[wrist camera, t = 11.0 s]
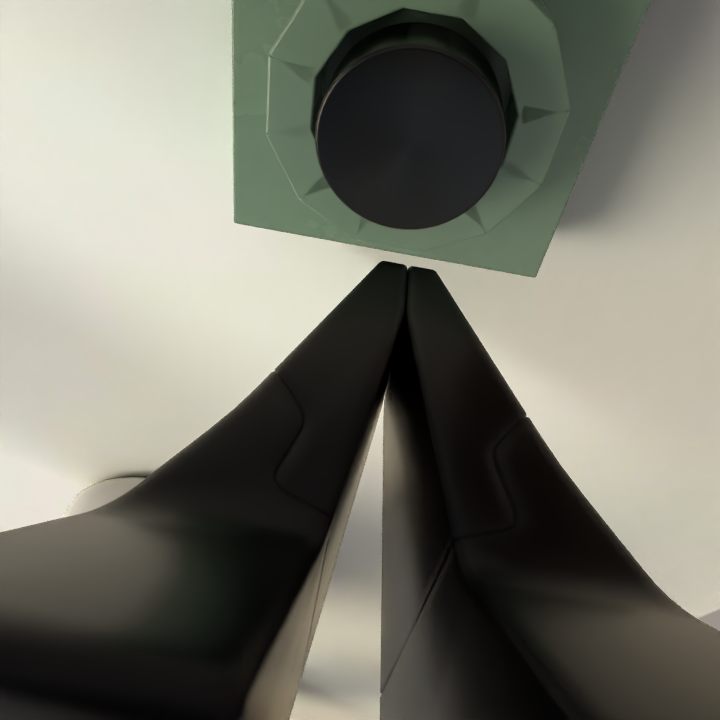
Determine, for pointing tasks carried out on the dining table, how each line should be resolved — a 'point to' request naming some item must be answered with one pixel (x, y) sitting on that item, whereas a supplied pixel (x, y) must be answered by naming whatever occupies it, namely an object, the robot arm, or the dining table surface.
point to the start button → (411, 127)
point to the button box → (519, 98)
